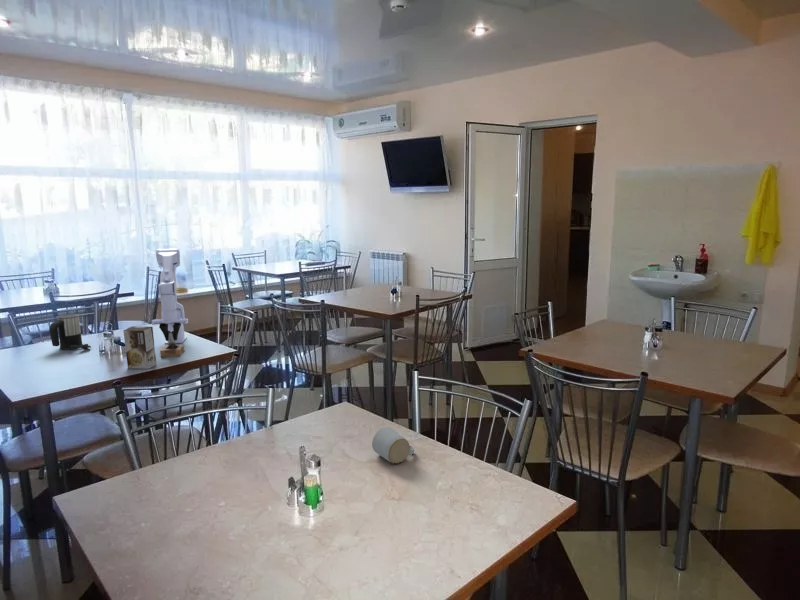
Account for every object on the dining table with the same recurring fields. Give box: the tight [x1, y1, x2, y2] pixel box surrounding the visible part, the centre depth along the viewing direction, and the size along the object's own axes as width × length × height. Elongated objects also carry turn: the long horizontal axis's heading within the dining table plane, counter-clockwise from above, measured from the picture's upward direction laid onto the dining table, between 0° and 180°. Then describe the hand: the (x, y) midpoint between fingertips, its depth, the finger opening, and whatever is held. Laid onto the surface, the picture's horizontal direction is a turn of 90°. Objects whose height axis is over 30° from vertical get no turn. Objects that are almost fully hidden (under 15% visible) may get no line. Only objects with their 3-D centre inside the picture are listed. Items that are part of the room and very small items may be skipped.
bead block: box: [159, 344, 186, 358], centre depth 233 cm, size 8×8×3 cm
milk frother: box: [49, 313, 92, 351], centre depth 240 cm, size 14×16×15 cm
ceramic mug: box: [371, 426, 415, 464], centre depth 141 cm, size 11×8×8 cm
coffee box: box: [122, 325, 157, 370], centre depth 215 cm, size 9×6×16 cm
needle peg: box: [167, 330, 177, 349], centre depth 232 cm, size 3×3×8 cm
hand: (171, 340), depth 232 cm, fingers closed on needle peg, 3 cm apart
